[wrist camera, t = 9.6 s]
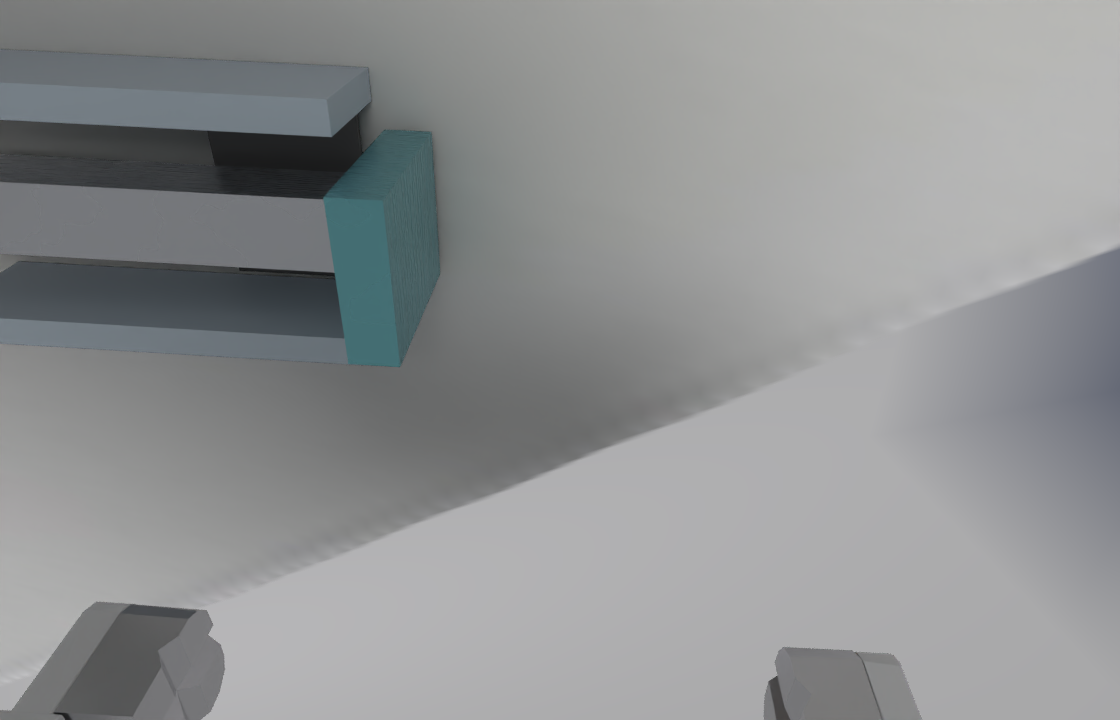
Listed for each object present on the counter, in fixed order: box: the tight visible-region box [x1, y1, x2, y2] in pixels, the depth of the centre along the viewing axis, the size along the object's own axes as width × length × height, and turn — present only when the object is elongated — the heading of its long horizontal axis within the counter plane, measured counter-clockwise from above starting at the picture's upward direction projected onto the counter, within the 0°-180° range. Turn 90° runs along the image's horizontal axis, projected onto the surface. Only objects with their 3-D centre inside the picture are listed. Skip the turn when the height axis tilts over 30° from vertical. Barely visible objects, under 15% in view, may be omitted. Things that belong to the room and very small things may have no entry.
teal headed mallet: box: [0, 130, 440, 367], centre depth 22 cm, size 20×5×6 cm, turn 88°
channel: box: [0, 49, 372, 365], centre depth 23 cm, size 14×8×4 cm, turn 88°
